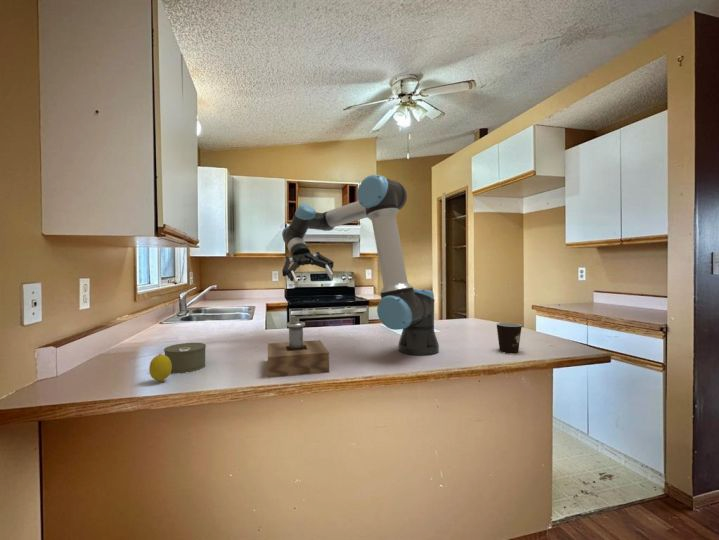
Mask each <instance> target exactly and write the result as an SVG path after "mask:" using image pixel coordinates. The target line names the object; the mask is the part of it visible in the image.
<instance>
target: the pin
mask: <svg viewBox="0 0 719 540" xmlns="http://www.w3.org/2000/svg"><path fill="white" fill-rule="evenodd" d="M305 326H306V322H304V321H289V322H286V327H287V328H288V342H289V351H293V350H303V341H304V327H305Z"/></svg>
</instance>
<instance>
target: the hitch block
mask: <svg viewBox="0 0 719 540" xmlns="http://www.w3.org/2000/svg"><path fill="white" fill-rule="evenodd" d="M324 373H330V352H329V350H328V349H327V347H326V346H325V345H324V344H323V342H322V340H320V339H319V340H318V339H317V340H303V350H293V351H289V341H287V342H272V343H271V342H270V343H267V377H269V378H277V377H289V376H290V377H291V376H300V375H301V376H302V375H313V374H324Z"/></svg>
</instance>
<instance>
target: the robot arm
mask: <svg viewBox="0 0 719 540" xmlns="http://www.w3.org/2000/svg"><path fill="white" fill-rule="evenodd" d="M356 191H357V193H356V198H357V201H354V202H351V203H348V204H345V205H342V206H339V207H336V208H333V209H330V210H327V211H325V212H317V211H316V209H315V208H313V206H310V205H309V204H304V203H301V204H299V206H298V207H297V208H296V210H295V213H294V215H293V217H292V220H291V221H290V224H289V225H288V226H286V227H284V228H283V230H282V231H281V237H282V240H283V243H284V244H285V245H286V247H287V249H288V251H289V253H290V257H291V258H290V257H289V256H286V257H285V263H284V266H283V268H282V270H281V271H282V277H286V276H287V278H288V279H289V281H293V284H294V285H295V287H296V288H298V287H299V282H298V277H296V274H295V272H296V270H297V269H298V268H299V267H300V266H305V265H311V266H317V267H319V268H323V269H324V270H325V272H326V274H327V276H328V277H329V279H330V281H333V280H334V273H333V268H334V261H333V260H331V259H329V258H328V257H326V256H324V255H322V254H321V253H320V252H319V251H316V253H314V254H312V253H311V250H310V249H309V247H308V246H307V243H306V241H305V240H304V237H305V235H306V234H307V232H308V229H309V230H317V231H318V230H319V231H323V232H324V231H325V232H327V231H332V230H334V229H335V228H336V227H339V226H342V225H347V224H349V223H352V222H356V221H360V220H363V219H366V218H367V219H369V220H370V221H371V224H372V225H371V226H372V229H373V234H374V235H373V236H374V240H375V247H376V251H377V253H376V254H377V257H378V264H379V268H380V275H381V279H382V288H381V290H380V291H379V294H380V300H379V301H378V304H377V307H376V313H377V316H378V319H379V321H380V322H381V323H382V324H383V325H384V326H385V327H386V328H388V329H390V330H392V331H393V330H396V331H398V330H402V332H401V335H400V338H399V341H398V345H397V347H398V348H397V349H398V352H401V353H403V354H407V355H411V356H416V355H417V356H427V355H434V354H437V353H439V351H440V345H439V340H438V339H437V335H436V332H435V295H434V294H435V293H434V291H432V290H431V289H418V288H417V289H416V288H414V286H413V285H412V284H411V283H409V282H408V277H407V276H408V275H407V272H406V265H405V260H404V256H403V255H404V254H403V249H402V245H401V239H400V233H399V227H398V223H397V215H398V214H399V212H400V211H401V210H403V208H404V207H405V205H406V203H407V200H408V194H407V193H408V192H407V190H406V188H405V186H404V185H403V184H402V183H400V182H399V181H397V180H394V179H390V178H387V177H386V176H384V175H379V174H369V175H368V176H366V177H365V178H364V179H363V180H362V181H361V182H360V185H359V186H358V188H357V190H356Z"/></svg>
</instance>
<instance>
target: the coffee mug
mask: <svg viewBox="0 0 719 540" xmlns="http://www.w3.org/2000/svg"><path fill="white" fill-rule="evenodd" d="M522 326H523V325H522V324H520V323H517V322H498V323H496V329H497V330H496V331H497V339H498V349H499V352H500V351H501V353H503V352H505V353H504V354H509V353H515V354H518V353H519V350H520V344H521V343H520V341H521V333H522Z"/></svg>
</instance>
